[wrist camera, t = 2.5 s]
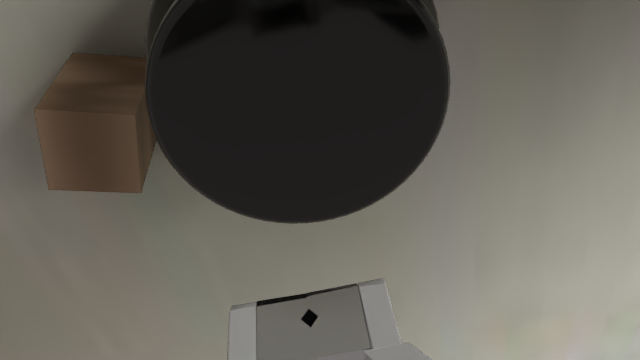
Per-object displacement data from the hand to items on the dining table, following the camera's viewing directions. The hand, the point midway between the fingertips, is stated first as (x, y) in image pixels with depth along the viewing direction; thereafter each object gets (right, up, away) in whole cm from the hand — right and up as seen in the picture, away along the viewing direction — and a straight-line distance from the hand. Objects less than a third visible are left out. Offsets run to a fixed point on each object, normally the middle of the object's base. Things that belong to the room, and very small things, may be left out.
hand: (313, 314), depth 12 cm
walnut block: (-10, +7, +19) cm, 23 cm away
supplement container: (-1, +12, +17) cm, 21 cm away
